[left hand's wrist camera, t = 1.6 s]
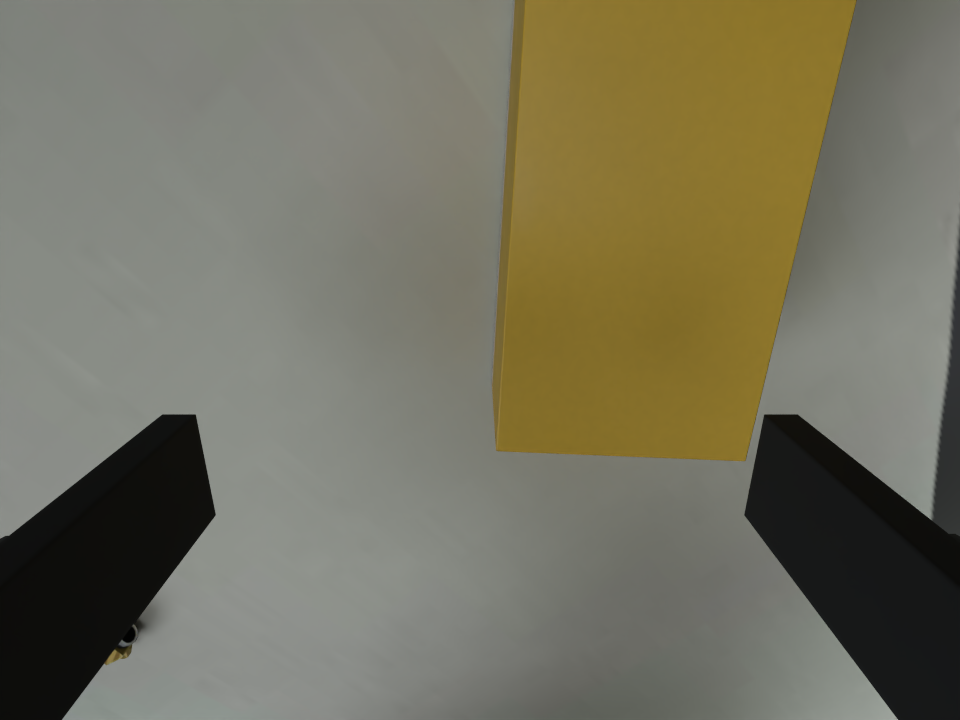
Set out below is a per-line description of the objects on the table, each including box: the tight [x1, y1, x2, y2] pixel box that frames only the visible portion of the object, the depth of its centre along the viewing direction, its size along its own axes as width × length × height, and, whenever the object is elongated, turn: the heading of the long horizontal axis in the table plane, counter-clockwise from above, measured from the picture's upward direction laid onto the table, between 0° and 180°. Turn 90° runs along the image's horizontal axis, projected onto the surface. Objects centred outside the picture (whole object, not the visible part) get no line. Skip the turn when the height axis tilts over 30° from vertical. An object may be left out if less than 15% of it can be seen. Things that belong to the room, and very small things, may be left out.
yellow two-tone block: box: [492, 0, 857, 461], centre depth 25 cm, size 19×11×8 cm, turn 177°
